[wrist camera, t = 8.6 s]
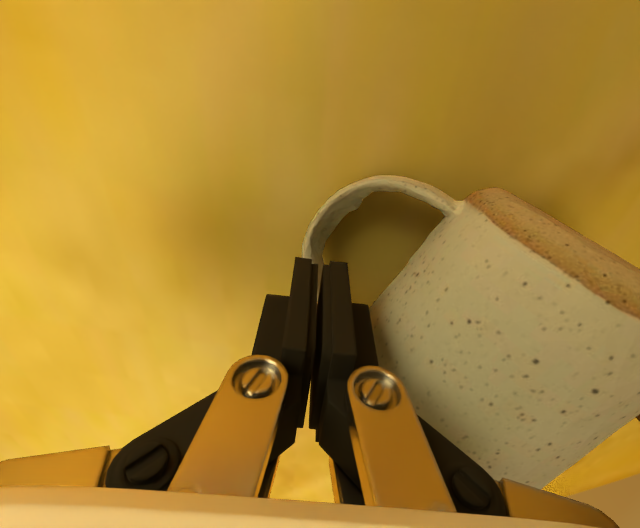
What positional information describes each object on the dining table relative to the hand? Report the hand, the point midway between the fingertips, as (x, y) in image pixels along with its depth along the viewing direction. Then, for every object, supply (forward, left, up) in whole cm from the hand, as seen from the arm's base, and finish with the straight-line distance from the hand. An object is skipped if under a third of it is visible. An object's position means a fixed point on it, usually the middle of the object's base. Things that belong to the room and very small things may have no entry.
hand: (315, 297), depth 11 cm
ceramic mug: (-3, +4, -4) cm, 6 cm away
